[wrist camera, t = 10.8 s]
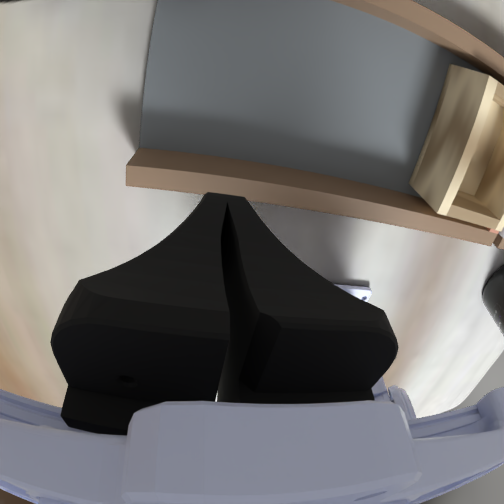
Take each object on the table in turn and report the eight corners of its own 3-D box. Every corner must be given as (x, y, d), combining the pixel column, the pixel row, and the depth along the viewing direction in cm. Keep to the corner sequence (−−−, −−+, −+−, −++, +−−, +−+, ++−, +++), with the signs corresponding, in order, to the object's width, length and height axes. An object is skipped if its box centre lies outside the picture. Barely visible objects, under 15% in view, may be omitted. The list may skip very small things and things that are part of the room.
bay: (490, 229, 24) (520, 262, 20) (140, 162, 19) (117, 199, 15) (542, 103, 16) (582, 125, 12) (170, -43, 11) (150, -67, 7)
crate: (472, 203, 21) (501, 231, 18) (408, 183, 20) (437, 213, 17) (512, 103, 16) (548, 121, 13) (449, 63, 15) (489, 75, 12)
